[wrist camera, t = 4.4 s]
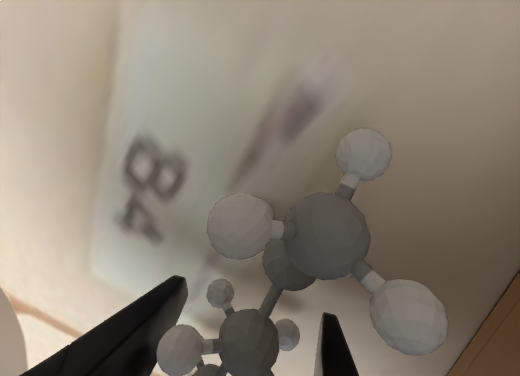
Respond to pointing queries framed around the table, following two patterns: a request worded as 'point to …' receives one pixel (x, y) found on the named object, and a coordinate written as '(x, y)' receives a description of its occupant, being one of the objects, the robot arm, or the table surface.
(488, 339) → the carton
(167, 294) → the robot arm
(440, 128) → the table surface
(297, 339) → the molecular model
